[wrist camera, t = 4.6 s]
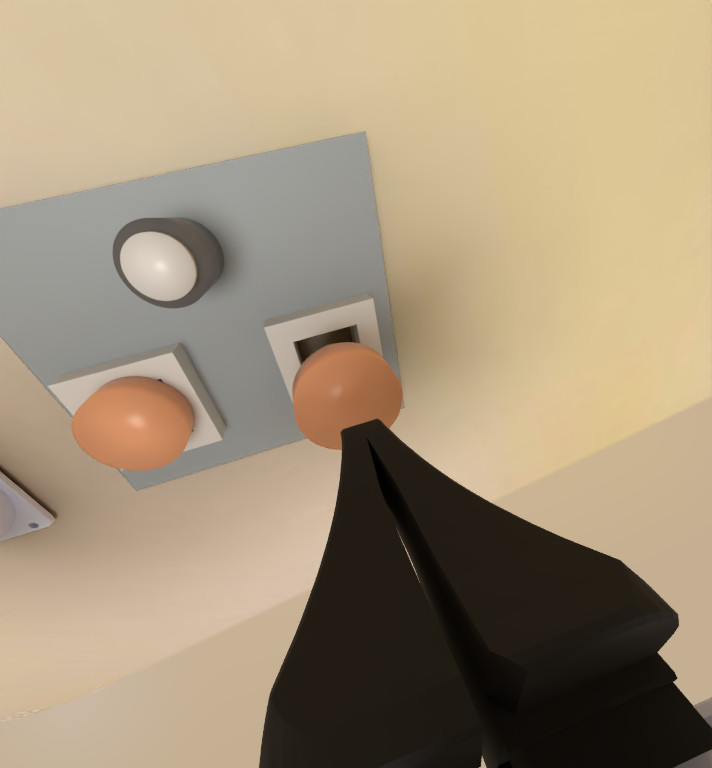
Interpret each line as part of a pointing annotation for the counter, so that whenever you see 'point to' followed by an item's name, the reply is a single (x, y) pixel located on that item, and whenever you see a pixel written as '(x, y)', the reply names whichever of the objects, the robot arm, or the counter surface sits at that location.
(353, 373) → the knob
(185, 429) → the knob
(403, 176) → the counter surface
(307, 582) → the counter surface
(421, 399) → the counter surface
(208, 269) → the white domed button
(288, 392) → the mount board
